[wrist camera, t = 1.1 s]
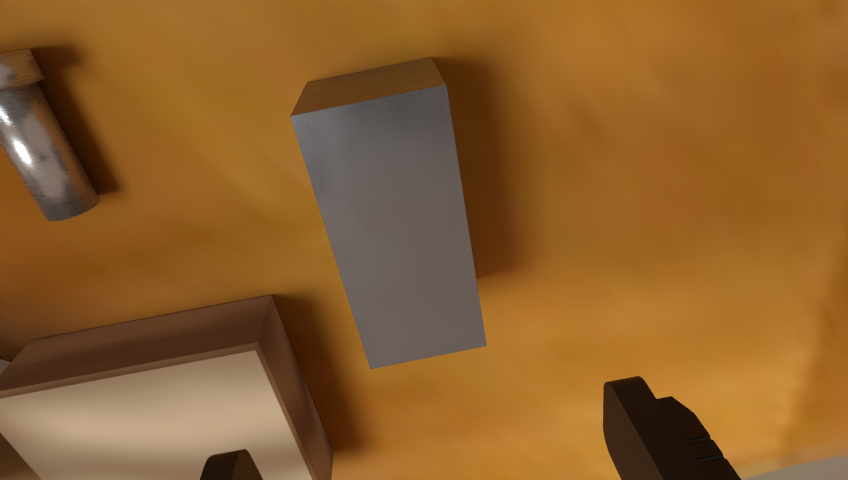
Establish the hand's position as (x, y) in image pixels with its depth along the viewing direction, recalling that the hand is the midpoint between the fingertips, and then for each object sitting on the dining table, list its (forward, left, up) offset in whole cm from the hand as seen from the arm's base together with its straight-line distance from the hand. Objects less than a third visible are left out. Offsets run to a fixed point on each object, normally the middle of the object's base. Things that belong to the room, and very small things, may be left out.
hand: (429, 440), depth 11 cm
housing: (0, 0, -14) cm, 14 cm away
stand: (+10, -13, -13) cm, 21 cm away
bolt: (-5, -13, -13) cm, 19 cm away
